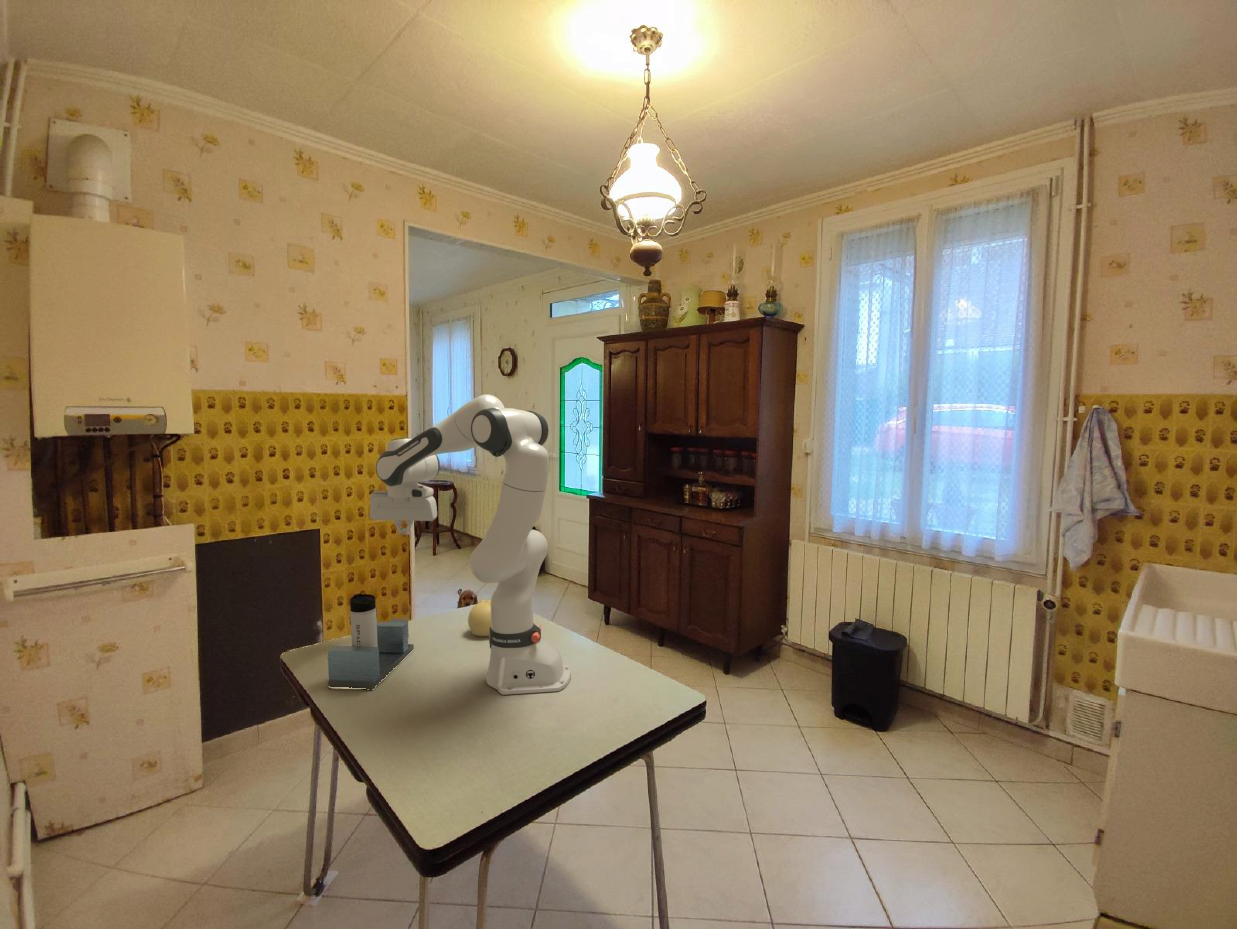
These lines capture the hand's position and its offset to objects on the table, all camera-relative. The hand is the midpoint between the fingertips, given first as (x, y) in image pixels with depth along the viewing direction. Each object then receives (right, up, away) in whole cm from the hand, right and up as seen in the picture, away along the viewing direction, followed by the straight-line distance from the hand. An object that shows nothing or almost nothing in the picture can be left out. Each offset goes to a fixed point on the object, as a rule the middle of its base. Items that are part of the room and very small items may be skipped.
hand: (404, 534), depth 173 cm
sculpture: (+24, -33, +7) cm, 41 cm away
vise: (-1, -35, -18) cm, 39 cm away
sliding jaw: (-1, -32, -8) cm, 33 cm away
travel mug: (-2, -34, -23) cm, 41 cm away
